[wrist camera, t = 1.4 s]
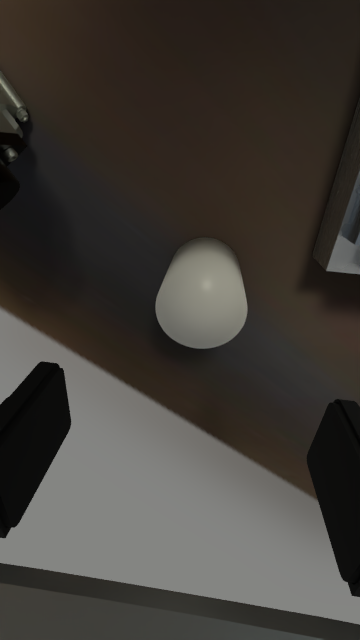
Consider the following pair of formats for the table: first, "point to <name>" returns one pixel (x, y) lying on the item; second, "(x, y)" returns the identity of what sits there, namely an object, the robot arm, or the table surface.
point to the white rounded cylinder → (202, 295)
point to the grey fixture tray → (343, 211)
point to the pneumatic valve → (10, 138)
